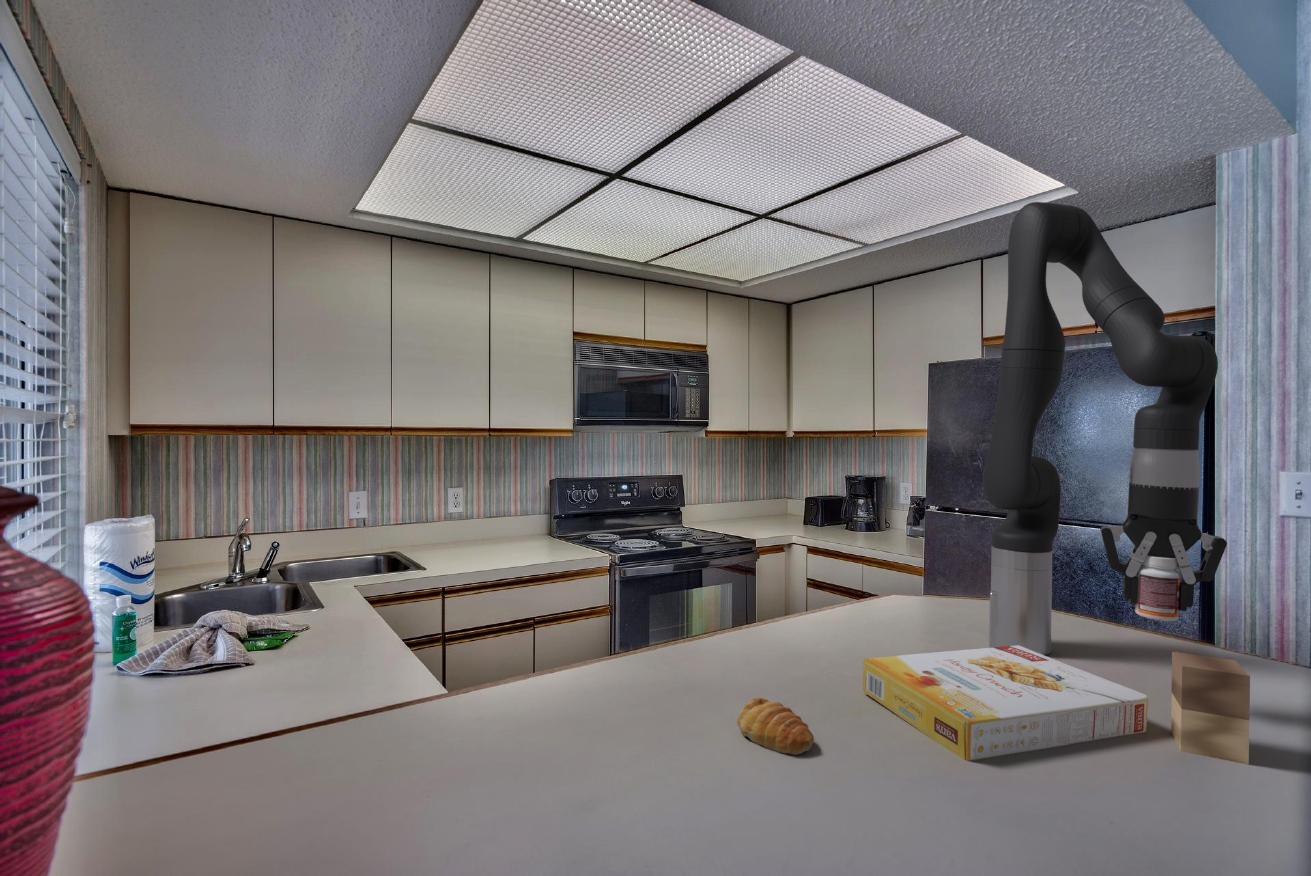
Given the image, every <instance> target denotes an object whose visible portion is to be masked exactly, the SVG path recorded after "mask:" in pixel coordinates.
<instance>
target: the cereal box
mask: <svg viewBox="0 0 1311 876" xmlns="http://www.w3.org/2000/svg"><path fill="white" fill-rule="evenodd" d="M862 672H863V673H862V691H863V693H865V694H866V695H868V696H869V697H870V698H872V699H874V701H876V702H878V703H879V704H881V705H882V706H884V707H885V708H886V709H888V710H889V711H891V712H892V713H894V714H895V715H896V716H898V717H899V718H900V719H902V720H904V721H905V722H907V724H910V725H911V726H912V727H914V728H915V729H916V730H918V731H919V732H921V733H923V734H924V735H925V736H927V737H928V738H930V739H931V740H932V741H934V742H936V743H937V744H939V745H940V746H942V747H943V748H945V749H946V750H948V751H950V752H951V753H953V754H955V755H956V756H958V757H959V758H961V759H963V760H964V761H967V762H969V761H977V760H981V759H989V758H994V757H999V756H1006V755H1011V754H1018V753H1024V752H1031V751H1036V750H1042V749H1049V748H1057V747H1060V746H1061V747H1062V746H1068V745H1073V744H1079V743H1086V742H1090V741H1091V742H1092V741H1097V740H1102V739H1109V738H1116V737H1123V736H1129V735H1133V734H1134V735H1135V734H1140V733H1145V732H1147V725H1148V711H1149V710H1148V709H1149V697H1148V695H1147V694H1144V693H1142V692H1139V691H1138V690H1137V691H1136V690H1134V689H1131V688H1130V687H1127V686H1124V685H1122V684H1119V683H1116V682H1114V681H1111V680H1108V679H1106V678H1103V677H1100V676H1099V675H1095V674H1093V673H1091V672H1088V671H1085V670H1082V669H1080V668H1077V667H1075V666H1072V665H1069V664H1067V663H1065V662H1062V661H1058V660H1057V659H1054V658H1052V657H1049V656H1046V655H1042V654H1039V653H1037V652H1034V651H1032V650H1029V649H1027V648H1024V647H1022V646H1019V645H1016V646H1004V647H984V648H971V649H970V648H969V649H962V650H961V649H959V650H947V651H938V652H937V651H936V652H935V651H934V652H923V653H914V654H913V653H912V654H901V655H891V656H880V657H879V656H878V657H869V658H868V657H867V658H866V657H865V658H863V671H862Z"/></svg>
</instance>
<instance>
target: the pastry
mask: <svg viewBox="0 0 1311 876" xmlns="http://www.w3.org/2000/svg"><path fill="white" fill-rule="evenodd" d="M736 719H737V721H736V723H737V726H738V728H739V730H740V731H741V733H742V735H743V736H744V737H747V738H748V739H750V741H751V742H752V743H755V744H757V745H759V746H760V745H761V746H762V747H764V748H766V749H769V750H770V751H771V750H772V751H775V752H778V753H780V754H791V755H795V756H796V755H797V756H798V755H800V754H802V753H805V752H806V751H810V749H811V748H812V746H813V744H814V738H815V736H814V734H813V733H812V731H811V730H810V729H809V726H808V724H807V723H805V722H804V721H803V720H802V717H801V716H799V715H797V714H795V713H794V712H793V711H792V709H791V708H790V707H788V706H787V707H786V706H785V705H783V704H782V703H781V702H776V701H774V702H771V701H769V700H768V699H767V698H764V697H760V696H759V697H754V698H751V699H750V700H749V701H748V702H747V703H746V704H744V705H743V706H742V708H741V709H740V712H739V714H738V717H737V718H736Z"/></svg>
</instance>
